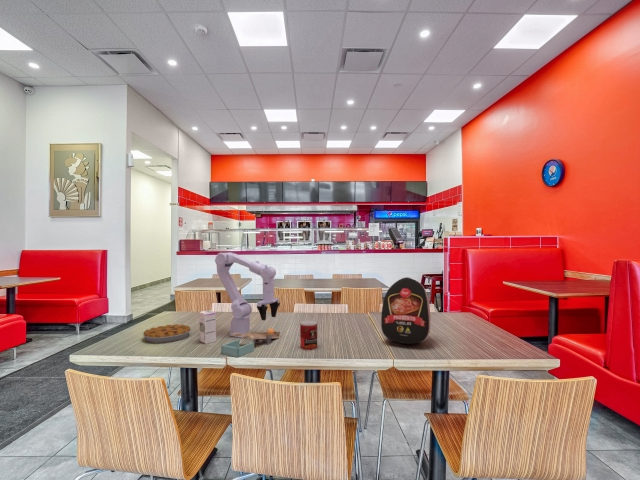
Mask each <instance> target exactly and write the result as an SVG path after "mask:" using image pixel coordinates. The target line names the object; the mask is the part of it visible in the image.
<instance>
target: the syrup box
mask: <svg viewBox="0 0 640 480" xmlns="http://www.w3.org/2000/svg"><path fill="white" fill-rule="evenodd" d="M216 316H217V315H216V311H214V310H210V309H209V310H208V309H207V310H202V311H199V342H200V343H203V344H204V345H207V344H211V343H215V342H217V330H216V329H217V328H216V327H217V324H216Z"/></svg>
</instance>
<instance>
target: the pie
mask: <svg viewBox="0 0 640 480" xmlns="http://www.w3.org/2000/svg"><path fill="white" fill-rule="evenodd" d="M191 331H192V329H191V326H189V325H185V324H178V323H177V324H176V323H175V324H166V325H158V326H157V327H150V329H146V330H144V331H143V334H142V335H143V337H144V339H146V341H147V342H148V341H149V343H151V342H152V343H153V344H164V343H165V344H166V343H171V342H177V341H180V340H184V339H186V338H188V336H189V334H190V332H191Z"/></svg>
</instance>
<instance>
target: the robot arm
mask: <svg viewBox="0 0 640 480" xmlns="http://www.w3.org/2000/svg"><path fill="white" fill-rule="evenodd" d="M214 262H215V265H216V274H217V275H218V277H219V279H220V281H221V283H222V285H223V288H224V290H225V291H226V293H227V295H228V297H229V299H230V301H231V306H230V309H231V310H232V312H231V313H232V316H233V318H232V319H231V320H230V333H229V336H230V337H234V338H235V337H236V338H241V339H244V338H245V337H241V336H236V335H232V333H238V334H243V335H245V333H251V331H250V330H251V329H250V324H251V323H250V317H251V316H250V315H251V314H252V311H253V308H252V306H251V304H250V303H248V301H247V300H246V299H245V298H243V297H242V294H241V293H240V291H239V289H238V287H237V285H236V283H235V281H234V279H233V277H232V275H231V273H230V269H231V267H232V266H233V265H234V263H236V264H237V265H240V266H244V267H246V268H248V269H249V271H250V272H252V273H253V274H255V275H257V276H259V277H261V279H262V300H260V301H257V303H256V309H257V310H258V312H259V315H260V319H261V321H266V319H267V313H268V312H267V311H268V308H270V317H272V318H276V317H277V312H278V309H279V307H280V304H281V302H280V298H279V297H278V298H277V297H275V276H276V274H277V272H276V271H277V270H276V269H275V268H274V267H273V266H268V265H267V264H262V263H261V262H260V261H259V260H254V261H251V260H249V259H246V257H243V256H240V255H239V254H238V253H234V252H231V251H228V252H218V253H217V254H216V256H215V258H214ZM266 305H269V306H266Z"/></svg>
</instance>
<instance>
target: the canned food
mask: <svg viewBox="0 0 640 480" xmlns="http://www.w3.org/2000/svg"><path fill="white" fill-rule="evenodd" d="M299 324H300V326H299V328H300V332H299V333H300V334H299V335H300V337H299V341H300V348H301V349H303V350H307V351H308V350H315V349H316V348H318V322H317V321H315V320H303V321H300V323H299Z"/></svg>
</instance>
